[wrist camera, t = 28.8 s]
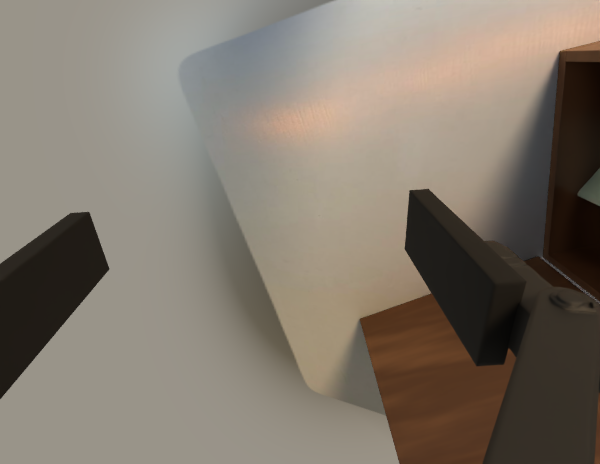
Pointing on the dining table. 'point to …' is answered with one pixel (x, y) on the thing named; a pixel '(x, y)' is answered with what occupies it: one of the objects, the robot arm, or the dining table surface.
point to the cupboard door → (440, 381)
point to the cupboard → (575, 169)
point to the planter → (591, 189)
